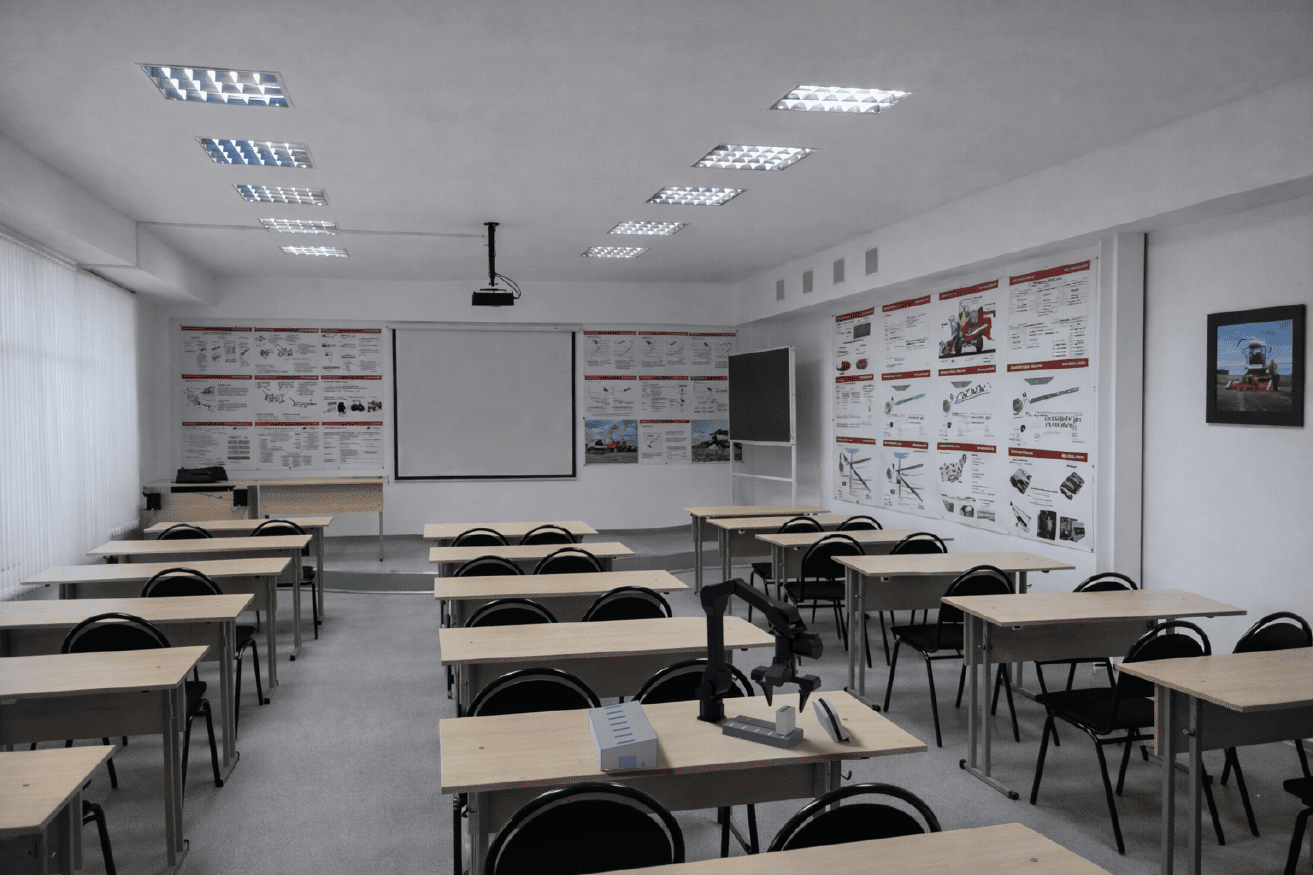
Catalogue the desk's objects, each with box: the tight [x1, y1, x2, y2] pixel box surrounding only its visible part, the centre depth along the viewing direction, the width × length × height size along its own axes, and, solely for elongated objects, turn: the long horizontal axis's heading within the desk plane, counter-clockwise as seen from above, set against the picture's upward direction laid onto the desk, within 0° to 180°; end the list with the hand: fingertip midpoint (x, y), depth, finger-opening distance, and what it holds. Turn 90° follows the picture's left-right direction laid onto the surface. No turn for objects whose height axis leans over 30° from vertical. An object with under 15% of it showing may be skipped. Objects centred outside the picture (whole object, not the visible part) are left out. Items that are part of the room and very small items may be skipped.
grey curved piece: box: [811, 696, 853, 743], centre depth 235 cm, size 17×5×10 cm, turn 4°
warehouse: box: [588, 700, 658, 771], centre depth 224 cm, size 30×14×8 cm, turn 10°
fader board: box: [721, 714, 805, 750], centre depth 231 cm, size 20×10×3 cm, turn 55°
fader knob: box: [775, 704, 796, 735], centre depth 227 cm, size 3×6×6 cm, turn 145°
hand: (785, 709), depth 227 cm, fingers open, 9 cm apart
